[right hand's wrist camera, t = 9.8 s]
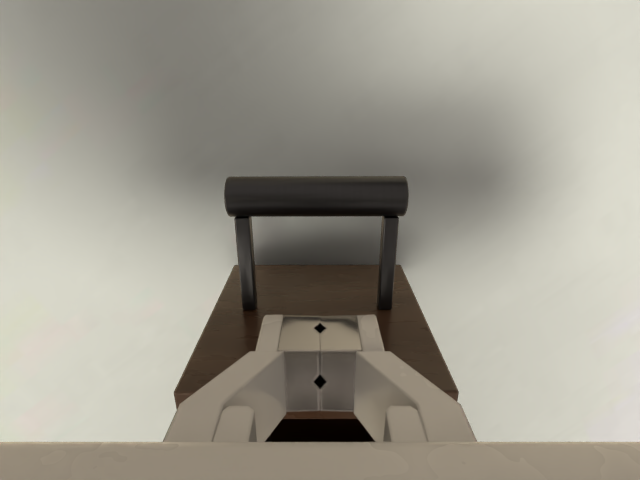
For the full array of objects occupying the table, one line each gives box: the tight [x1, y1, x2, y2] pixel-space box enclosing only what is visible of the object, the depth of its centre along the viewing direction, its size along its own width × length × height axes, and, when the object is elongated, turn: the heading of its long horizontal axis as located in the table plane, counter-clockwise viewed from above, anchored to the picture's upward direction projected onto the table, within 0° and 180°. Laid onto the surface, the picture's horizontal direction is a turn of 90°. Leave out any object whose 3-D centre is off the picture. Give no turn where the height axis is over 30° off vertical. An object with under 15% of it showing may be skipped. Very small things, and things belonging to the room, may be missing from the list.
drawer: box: [174, 176, 459, 442], centre depth 19 cm, size 24×9×10 cm, turn 0°
